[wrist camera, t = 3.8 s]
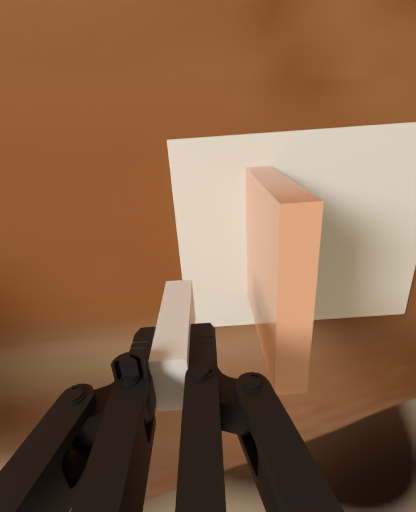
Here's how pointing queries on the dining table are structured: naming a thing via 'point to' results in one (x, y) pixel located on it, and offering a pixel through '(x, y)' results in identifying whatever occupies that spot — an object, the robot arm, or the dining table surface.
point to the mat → (333, 220)
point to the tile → (282, 272)
